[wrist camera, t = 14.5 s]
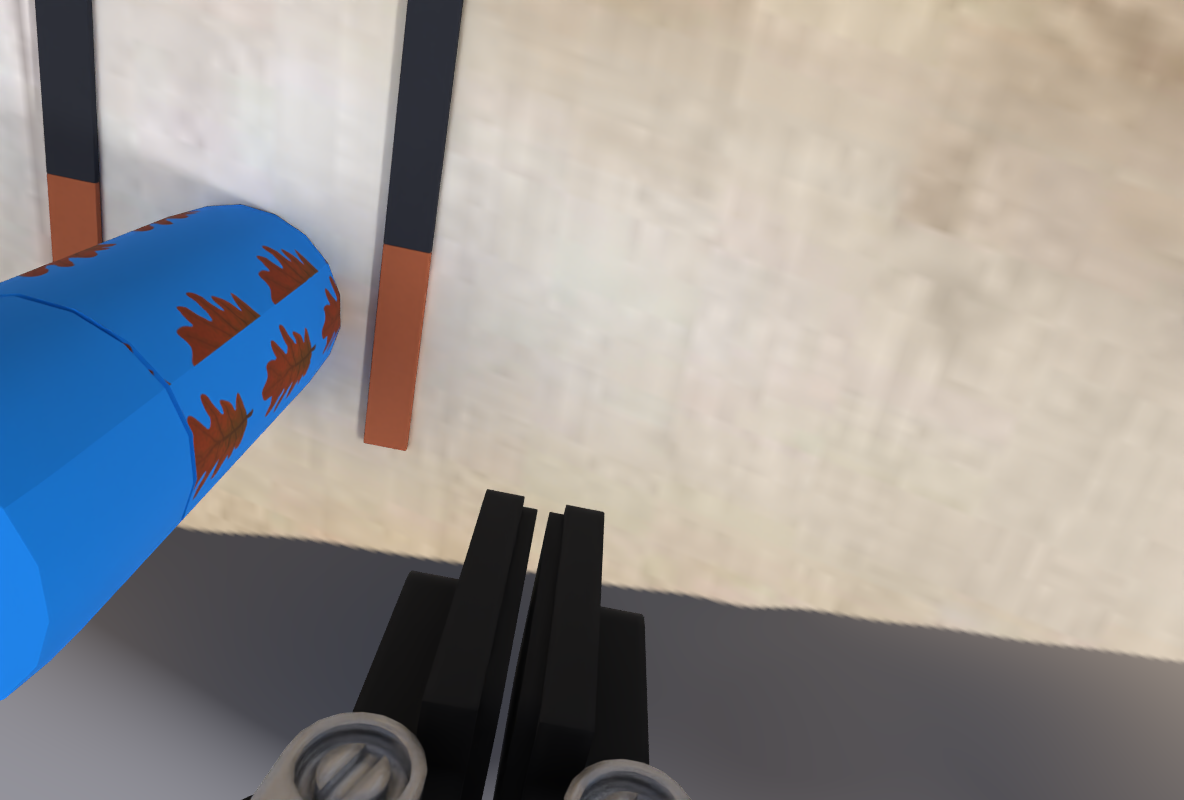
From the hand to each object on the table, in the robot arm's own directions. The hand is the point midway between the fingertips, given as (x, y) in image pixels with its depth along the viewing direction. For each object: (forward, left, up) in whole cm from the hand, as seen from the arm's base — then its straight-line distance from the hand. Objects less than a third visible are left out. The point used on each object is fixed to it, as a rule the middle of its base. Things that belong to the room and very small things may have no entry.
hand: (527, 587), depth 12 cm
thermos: (+10, -18, -33) cm, 39 cm away
